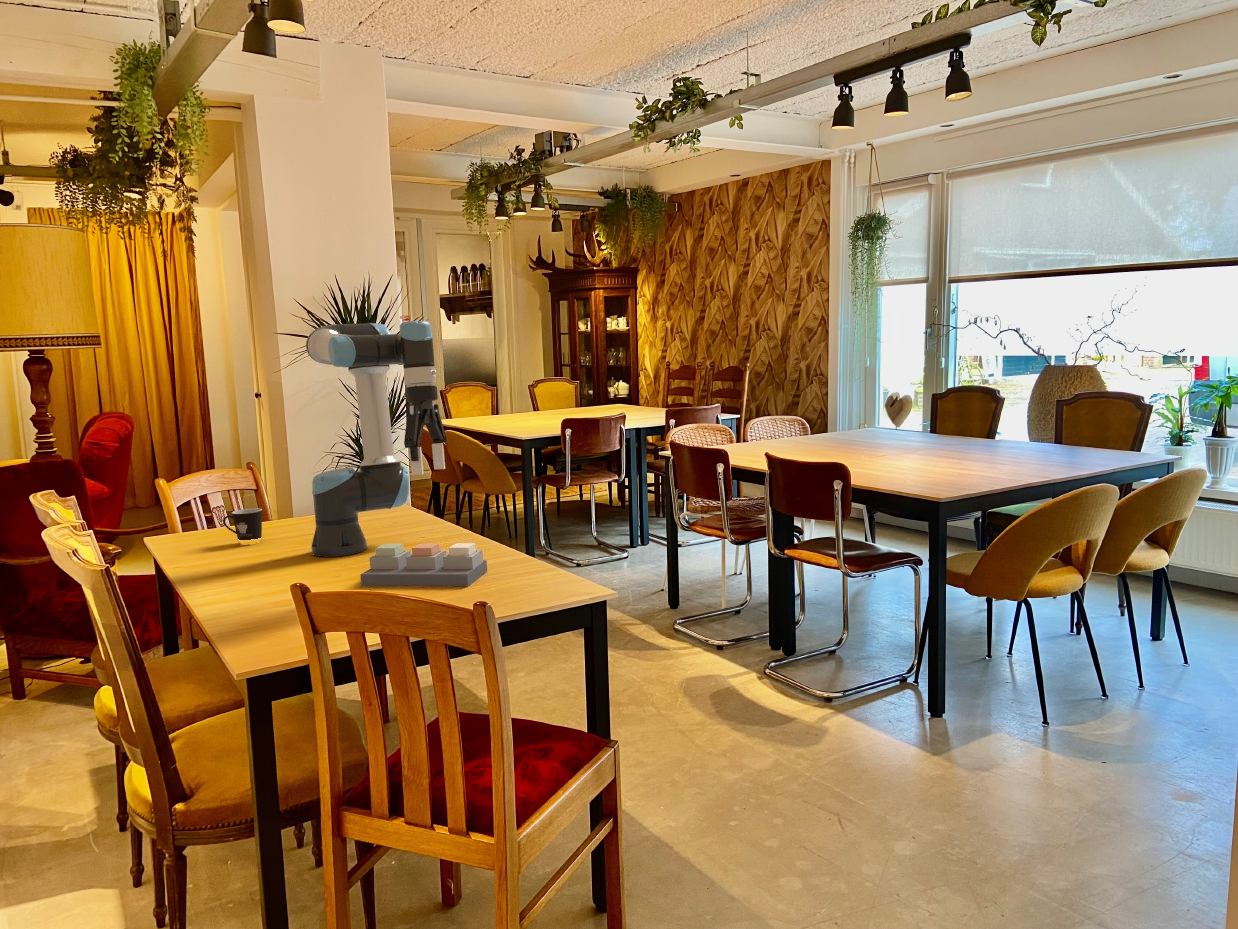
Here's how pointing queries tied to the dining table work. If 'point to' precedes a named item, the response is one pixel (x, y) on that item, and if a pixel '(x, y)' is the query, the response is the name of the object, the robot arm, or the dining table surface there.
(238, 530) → the coffee mug
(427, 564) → the key panel
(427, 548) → the terracotta key
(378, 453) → the robot arm
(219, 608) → the dining table surface
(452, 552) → the cream key
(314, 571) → the dining table surface
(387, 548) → the sage key
